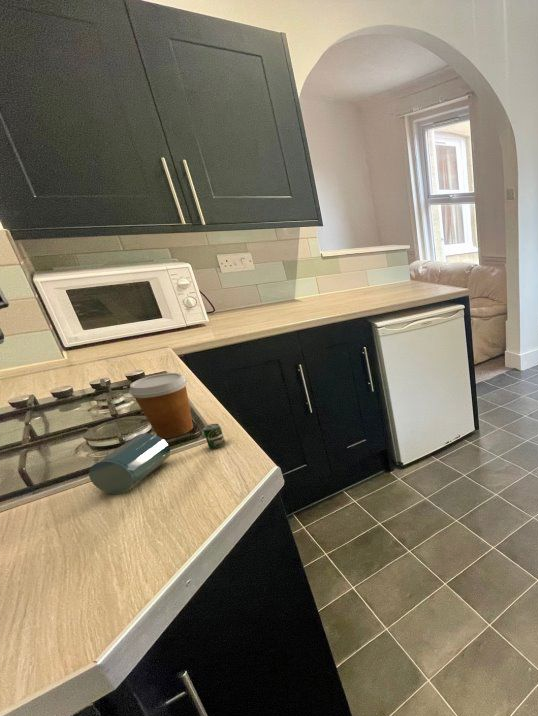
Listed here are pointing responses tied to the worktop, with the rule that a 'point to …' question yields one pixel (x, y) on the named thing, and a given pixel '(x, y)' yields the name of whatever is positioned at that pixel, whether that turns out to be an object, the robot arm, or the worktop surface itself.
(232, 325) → the worktop surface
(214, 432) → the beer can
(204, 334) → the worktop surface
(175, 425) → the disposable coffee cup
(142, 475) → the cup
